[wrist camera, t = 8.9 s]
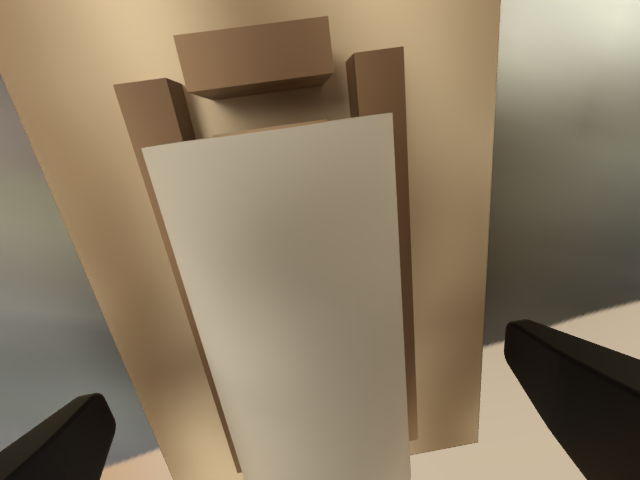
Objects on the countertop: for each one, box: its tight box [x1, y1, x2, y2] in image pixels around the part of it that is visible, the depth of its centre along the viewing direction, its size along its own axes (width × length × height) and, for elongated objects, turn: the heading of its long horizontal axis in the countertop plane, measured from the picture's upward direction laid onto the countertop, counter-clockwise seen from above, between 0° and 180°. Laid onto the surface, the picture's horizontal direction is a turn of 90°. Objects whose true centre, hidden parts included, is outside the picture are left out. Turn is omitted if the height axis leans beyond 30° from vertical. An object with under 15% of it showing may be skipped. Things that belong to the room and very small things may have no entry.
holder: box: [0, 0, 501, 480], centre depth 10 cm, size 13×18×4 cm
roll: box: [141, 113, 411, 480], centre depth 9 cm, size 10×5×5 cm, turn 8°
